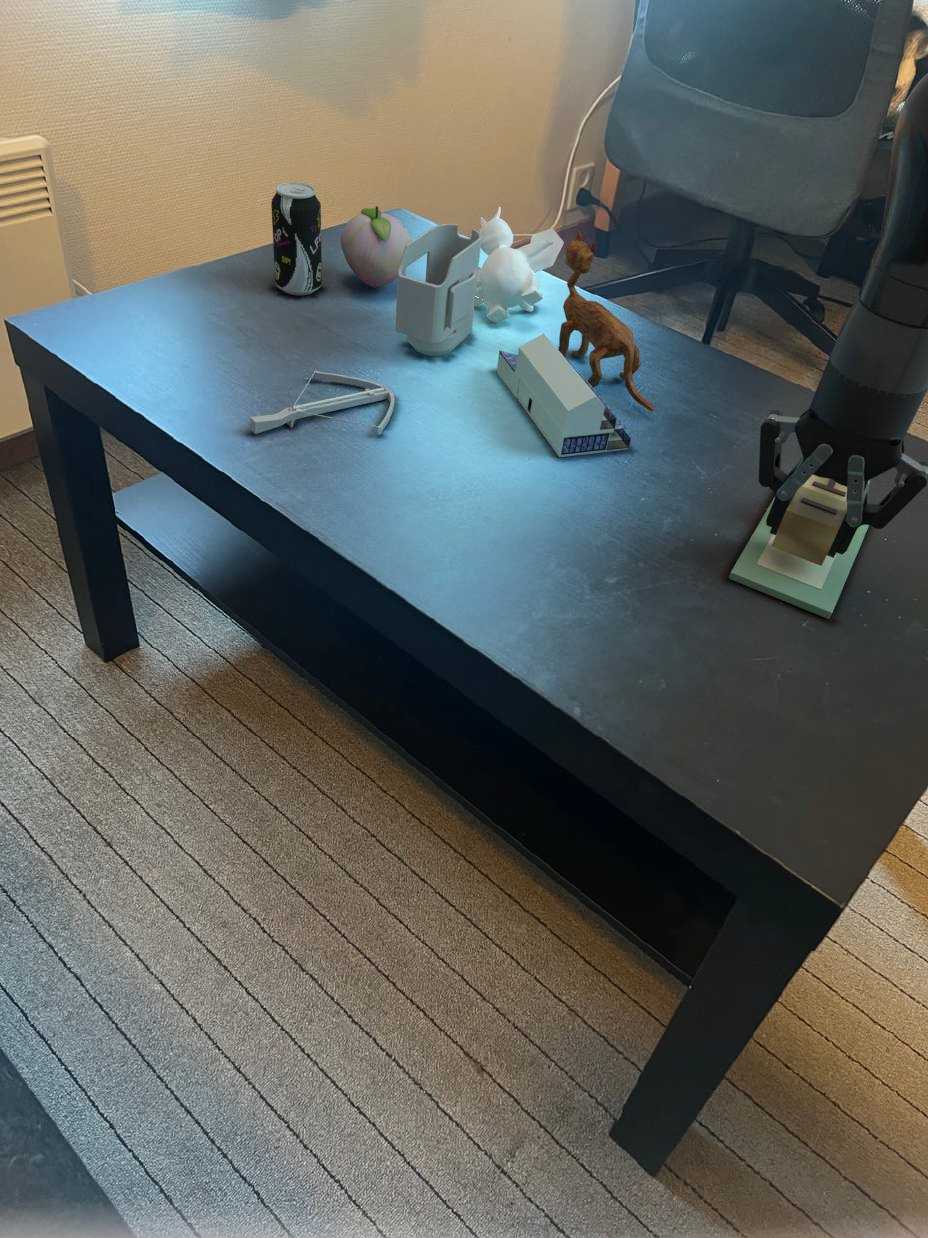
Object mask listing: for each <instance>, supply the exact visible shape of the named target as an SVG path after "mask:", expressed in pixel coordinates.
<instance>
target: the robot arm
mask: <svg viewBox="0 0 928 1238" xmlns="http://www.w3.org/2000/svg"><path fill="white" fill-rule="evenodd" d="M927 393H928V72H927V73H925V75H924V76H923V77H922V78H921V79H920V80H919V81H918V82H917V84H916V85H915V86H914V87H913V88H912V90H911V91H910V93H909V95H908V96H907V97H906V99H905V101H904V103H903V104H902V107H901V109H900V111H899V114H898V117H897V120H896V124H895V128H894V133H893V140H892V147H891V155H890V167H889V175H888V185H887V192H886V198H885V205H884V211H883V217H882V223H881V230H880V235H879V240H878V244H877V247H876V248H875V250H874V254H873V255H872V259H871V261H870V263H869V267H868V269H867V271H866V274H865V276H864V279H863V282H862V284H861V287H860V289H859V291H858V293H857V295H856V297H855V300H854V302H853V304H852V306H851V308H850V309H849V311H848V313H847V315H846V316H845V318H844V321H843V322H842V324H841V327H840V329H839V331H838V334H837V336H836V339H835V341H834V344H833V347H832V350H831V352H830V353H829V357H828V359H827V362H826V365H825V367H824V370H823V372H822V375H821V377H820V380H819V382H818V385H817V387H816V390H815V392H814V395H813V398H812V400H811V402H810V405H809V407H808V408H807V410H805V411H804V412H803V413H801V415H800V416H799V417H798V416H797V417H796V416H785V415H783V413H782V411H780V410H777V409H774V410H771V411H770V412H769V414H768V415H767V416H766V418H765V419H764V420H763V423H762V424H761V425H760V430H759V431H760V432H759V457H758V458H759V459H758V460H759V461H758V483H759V485H760V486H761V487H764V488H769V489H771V490H772V492H773V493H774V497H775V499H774V498H773V499H774V502H773V504H772V507H771V509H770V512H769V514H768V517H767V519H766V525H767V526H769V527H772V528H771V530H770V534H773V535H776V533H777V531H778V529H779V526H780V524H781V521H782V519H783V517H784V514H785V512H786V509H787V508H788V506H789V504H790V502H791V500H792V499H793V497H794V495H795V493H796V491H797V490H798V489H799V488H800V487H801V486H802V485H804V484H805V482H806V481H807V480H808V479H809V478H810V477H811V476H812V475H815V476H818V477H821V478H829V479H832V480H834V481H835V482H837V483H838V484H840V485H843V486H846V487H847V497H846V502H847V513H846V515H845V517H844V520H843V522H842V524H841V526H840V528H839V530H838V533H837V535H836V537H835V539H834V541H833V543H832V545H831V547H830V550H829V552H828V554H827V556H829V557H832V558H834V557H835V555H836V553H839V554H844V553H845V552H846V551H847V549H848V547H849V545H850V543H851V541H852V539H853V537H854V535H855V533H856V531H857V529H858V528H859V527H860V526H862V525H869V526H871V527H872V528H874V529H876V530H881V529H883V528H885V527H886V526H887V525H888V524H889V523H890V522H891V521H892V520H893V519H894V518H895V517H896V516H897V515H898V514H899V513H900V512H901V511H902V510H903V509H904V508H905V507H906V506H907V505H908V504H909V503H910V502H912V500H914V498H915V497H917V496H918V495H919V493H920V492H921V491H923V489H925V487H926V486H927V484H928V461H920V462H918V461H916V460H914V459H913V458H911V457H910V456H908V455H907V454H905V437H906V436H907V434H908V431H909V430H910V427H911V424H912V423H913V421H914V420H915V417H916V415H917V413H918V411H919V409H920V407H921V404H922V403H923V400H924V398H925V397H926V395H927ZM792 433H795V436H796V440H797V443H798V446H799V448H800V451H801V454H802V457H801V458H800V460H799V461H798V462H797V463H796V465H794V467H793V468H792V469H791V470H790V471H789V473H786V472H785V471H783V470H782V469H781V468H782V451H783V450H782V449H783V444H785V442H787V441H788V439H789V437H790V435H791V434H792ZM894 468H895V469H896V471H897V472H896V473H897V474H896V476H895V478H894V483H895V486H894V487H893V488H892V489H891V490H890V491H889V492H888V493H887V494H886V496H884V497H883V498H882V500H881V501H880V502H879V503H878V504H877V503H869V494H870V488H871V481H872V480H873V479H875V478H876V477H879V476H880V475H882V474H884V473H886V472H888V471H890V470H892V469H894Z"/></svg>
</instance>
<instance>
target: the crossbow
mask: <svg viewBox="0 0 928 1238" xmlns="http://www.w3.org/2000/svg"><path fill="white" fill-rule="evenodd" d="M312 379H314V380H320V381H329V382H334V383H340V384H346V385H351V386H356V387H360V388H365V389H364V391H360V392H354V393H349V394H345V395H340V396H336V397H331V398H327V399H321V400H316V401H311V402H306V403H302V404H301V403H298V401H299V400H300V398H301V396H302V395H303V393H304V392H305V390H306V388H307V387H308V385H309V383H310V382H311V380H312ZM384 400H387V401H388V402H389V407H388V409H387V412H386V413H385V416H384V418H383V419H382V421H381V422H380V423H379V425H373V424H368V423H364V422H363V423H362V422H358V421H352V420H348V419H342V418H337V417H332V416H327V415H322V414H326V413H330V412H335V411H339V410H344V409H347V408H353V407H357V406H361V405H366V404H371V403H376V402H379V401H384ZM395 401H396V397H395V392H394V391H392V390H391V389H390V388H389V387H388V386H387V385H384V384H381V383H378V382H377V381H376V382H375V381H373V380H372V381H371V380H368V379H363V378H359V377H354V376H350V375H349V376H348V375H343V374H337V373H329V372H324V371H323V372H322V371H320V370H313V371H312V375H311V376H310V378H309V380H308V382H307V383H306V384H305V386H304V388H303V389H302V391H301V392H300V394H299V396H298V398H297V399H296V401H295V402H294V404H293V405H292V406H290V407H286V408H284V409H282V410H280V411H279V412H277V413H275V414H274V413H273V414H266V415H256V416H250V417H249V428H250V430H251V431H252V432H253V433H254V434H255V435H257V434H260V433H262V432H266V431H270V430H273V429H276V428H278V427H282V426H283V425H285V424H287V426H289V427H290V428H293V427H294V424H295V423H297V421H296V420H299V419H302V418H307V417H312V416H317V417H323V418H326V419H327V418H328V419H332V420H336V421H337V420H338V421H343V422H348V423H352V424H353V423H354V424H358V425H363V426H368V427H373V428H377V435H381V434H382V432H383V430H384V429H385V428H386V427H387V425H388V424H389V422H390V419H391V418H392V415H393V413H394V408H395Z"/></svg>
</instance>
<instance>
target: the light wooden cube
mask: <svg viewBox="0 0 928 1238" xmlns="http://www.w3.org/2000/svg"><path fill="white" fill-rule="evenodd" d="M802 486H803V487H806V488H809V489H811V490H814V491H817V492H820V493H822V494H825V495H828V496H830V497H833V498H836V499H839V500H841V501H844V502H846V497H847V487H846V486H843V485H840V484H838V483H837V482H835V481H834V480H832V479H829V478H821V477H818V476H815V475H812V476H811V477H810V478H809V479H808V480H807V481H806V482H805V484H804V485H802Z"/></svg>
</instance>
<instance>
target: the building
mask: <svg viewBox="0 0 928 1238" xmlns="http://www.w3.org/2000/svg"><path fill="white" fill-rule="evenodd" d="M497 357H498V359H497V367H496V373H497V375H498V376H499V378H500V379H501V380H502V381H503V383H504V384H505V386H506V387H507V388H508V389H509V390H510V392H511V393H512V395H513V396H514V397H515V399H517V401H518V402H519V403H520V405H521V406H522V408H523V409H524V410H525V412H526V413H527V415H528V417H530V419H531V420H532V422H533V424H535V426H536V427H537V428H538V430H539V431H540V433H541V434H542V435H543V437H544V438H545V440H546V441H547V443H548V444H549V446H550V447H551V448H552V450H553V451H554V452H555V454H556V455H557V456H558V458H564V457H567V458H568V457H575V456H583V455H591V454H592V455H594V454H602V453H609V452H617V451H626V450H628V451H629V450H630V445H631V440H632V437H630V435H629V434H628V433H627V432H626V430H627V426H626V425H625V424H624V423H623V421H622V420H621V419H620V418H619V417H618V415H617V414H616V413H615V412H614V411H613V410H612V408H611V407H610V406H609V404H608V403H607V402H606V401H605V400H604V399H603V398H602V397H601V395H600V394H599V393H598V392H597V390H596V389H594V388H595V387H594V388H593V387H592V386H591V385H590V384H589V382H588V379H585V378H583V376H581V373H579V371H577V370H576V368H575V366H573V364H571V362H570V360H568V359H567V357H566V358H565V356H564V355H562V353H561V352H560V351H559V348H558V347H556V345H555V344H554V343H553V342H552V340H550V339H549V337H547V335H546V334H545V333H542V334H541V335H538V336H537V337H535V338H533V339H531V340H529V341H527V342H525V343H523V344H522V345H521V344H520V345H519V346H518V350H517V354H514V353H510V352H508V351H503V350H501V349H499V350H498V356H497Z"/></svg>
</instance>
